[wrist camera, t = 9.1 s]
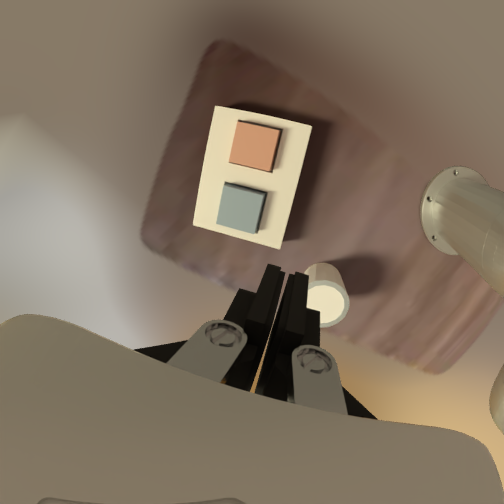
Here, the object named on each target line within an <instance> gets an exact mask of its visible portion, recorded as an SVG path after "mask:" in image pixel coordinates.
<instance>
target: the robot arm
mask: <svg viewBox="0 0 504 504" xmlns="http://www.w3.org/2000/svg"><path fill="white" fill-rule="evenodd" d="M453 171H455V173H454V174H453ZM428 196H429V199H428V200H427V197H428ZM420 219H421V225H422V228H423V231H424V233H425V235H426V237H427V239H428V240H429V241H430V242H431V244H432V245H433V246H435V247H436V248H437V249H438V250H440V251H441V252H443V253H446V254H449V255H460V256H461V257H462V258H463V259H464V260H465V261H466V262H467V263H468V264H469V265H470V266H471V267H472V268H473V269H474V270H475V271H476V272H477V273H478V274H479V275H480V276H481V277H482V278H483V279H484V280H485V281H486V282H487V283H488V284H489V285H490V286H491V287H492V288H493V289H494V290H495V291H496V292H497V293H498V294H499V295H500V296H502V297H503V298H504V192H502V191H500V190H497V189H494V188H492V187H489V185H488V183H487V182H486V180H485V179H484V178H483V177H482V176H481V175H480V174H479V173H478V172H476V171H475V170H473V169H470V168H468V167H463V166H452V167H448V168H446V169H444V170H442V171H440V172H439V173H438V174H436V175H435V176H434V177H433V178H432V180H431V181H430V182H429V183H428V185H427V187H426V189H425V191H424V194H423V196H422V200H421V205H420ZM433 235H434V236H433ZM432 236H433V237H432ZM280 270H281V267H278V266H275V265H271V264H268V265H267V267H266V270H265V273H264V275H263V278H262V280H261V283H260V285H259V288H258V290H257V293H254V292H250V291H247V290H244V289H239V290H238V292H237V294H236V296H235V298H234V300H233V302H232V304H231V306H230V308H229V310H228V311H227V314H226V315H225V317H224V319H223V320H212V321H208V322H206V323H205V324H203V325H202V326H201V327H200V328H199V329H198V330H197V332H196V333H195V334H194V335H193V336H192V337H191V338H190V339H189V340H186V341H181V342H175V343H170V344H164V345H159V346H153V347H147V348H140V349H135V350H132V349H129V348H127V347H125V346H123V345H120V344H118V343H116V342H114V341H111V340H109V339H107V338H104V337H102V336H100V335H98V334H96V333H93V332H91V331H89V330H87V329H85V328H83V327H80V326H77V325H75V324H72V323H70V322H67V321H63V320H60V319H57V318H53V317H48V316H43V315H34V314H24V315H19V316H16V317H13V318H11V319H9V320H7V321H5V322H3V323H2V324H0V504H504V492H503V487H502V483H501V480H500V477H499V474H498V471H497V468H496V465H495V462H494V460H493V458H492V456H491V454H490V452H489V450H488V449H487V447H486V446H485V445H484V444H482V443H481V442H480V441H479V440H477V439H475V438H473V437H471V436H469V435H466V434H464V433H461V432H458V431H454V430H450V429H445V428H440V427H432V426H423V425H415V424H407V423H398V422H390V421H382V420H378V419H377V418H376V417H375V416H374V415H372V414H371V413H370V412H369V411H368V410H367V409H366V408H365V407H364V406H363V405H362V404H361V403H359V402H358V401H357V400H356V399H355V398H354V397H353V396H352V395H351V394H350V393H349V392H348V391H347V390H346V389H345V388H343V387H342V385H341V381H340V376H339V372H338V367H337V363H336V361H335V359H334V357H333V356H332V355H331V354H330V353H328V352H327V351H326V350H324V349H322V348H320V311H317V310H313V309H310V308H307V297H308V284H309V275H306V274H303V273H299V272H295V275H293V274H289V277H288V280H287V283H286V286H285V290H284V293H283V296H282V299H281V302H280V305H279V309H278V312H277V315H276V318H275V321H274V324H273V320H274V316H275V313H276V309H277V305H278V301H279V297H280V293H281V289H282V285H283V280H284V276H285V272H282V271H280ZM272 324H273V327H272ZM271 327H272V331H271ZM270 331H271V334H270ZM269 334H270V338H269V341H268V346H267V349H266V353H265V356H264V360H263V364H262V368H261V371H260V375H259V378H258V382H257V386H256V389H255V394H254V393H251V392H250V390H251V387H252V384H253V381H254V378H255V376H256V372H257V369H258V367H259V364H260V361H261V358H262V355H263V352H264V349H265V346H266V343H267V340H268V337H269ZM247 391H248V392H247ZM489 405H490V413H491V415H492V418H493V421H494V422H495V424H496V426H497V427H498V429H499V430H500V431H501V432H502V433H503V434H504V365H503V366H502V368H501V370H500V372H499V374H498V376H497V378H496V380H495V382H494V384H493V386H492V389H491V393H490V399H489Z"/></svg>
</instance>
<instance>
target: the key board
mask: <svg viewBox="0 0 504 504" xmlns="http://www.w3.org/2000/svg"><path fill="white" fill-rule="evenodd" d="M237 122H242V123H247V124H252V125H257V126H262V127H266V128H271V129H275V130H279V131H281V134H280V138H279V143H278V147H277V151H276V155H275V159H274V163H273V168H272V170H271V171H266V170H262V169H258V168H253V167H249V166H245V165H241V164H236V163H232V162H229V158H230V153H231V148H232V144H233V139H234V134H235V130H236V125H237ZM311 130H312V126H309V125H305V124H301V123H298V122H294V121H289V120H285V119H281V118H277V117H272V116H267V115H263V114H258V113H253V112H248V111H243V110H237V109H232V108H226V107H220V106H215V110H214V115H213V119H212V124H211V129H210V133H209V138H208V143H207V148H206V153H205V158H204V164H203V169H202V174H201V180H200V185H199V191H198V197H197V203H196V209H195V215H194V221H193V225H195V226H198V227H202V228H206V229H209V230H213V231H216V232H220V233H224V234H227V235H231V236H234V237H238V238H241V239H245V240H248V241H252V242H256V243H259V244H263V245H266V246H270V247H273V248H277V249H280V247H281V244H282V241H283V237H284V233H285V230H286V226H287V222H288V219H289V215H290V211H291V208H292V204H293V200H294V196H295V192H296V189H297V185H298V181H299V177H300V173H301V169H302V166H303V162H304V158H305V154H306V150H307V146H308V142H309V138H310V134H311ZM228 183H231V184H235V185H239V186H243V187H247V188H251V189H255V190H259V191H263V192H266V196H265V200H264V205H263V209H262V213H261V217H260V221H259V225H258V229H257V231H256V232H255V234H251V233H247V232H244V231H240V230H237V229H233V228H229V227H226V226H222V225H218V224H216V221H217V216H218V211H219V206H220V201H221V195H222V190H223V186H224V185H226V184H228Z"/></svg>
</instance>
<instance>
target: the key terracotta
mask: <svg viewBox="0 0 504 504" xmlns="http://www.w3.org/2000/svg"><path fill="white" fill-rule="evenodd" d="M280 134H281V131H279V130H275V129H271V128H266V127H262V126H257V125H252V124H247V123H242V122H237V125H236V130H235V134H234V139H233V144H232V148H231V153H230V158H229V162H232V163H236V164H241V165H245V166H249V167H253V168H258V169H262V170H266V171H271V170H272V168H273V163H274V159H275V155H276V151H277V147H278V143H279V138H280Z"/></svg>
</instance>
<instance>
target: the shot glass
mask: <svg viewBox="0 0 504 504" xmlns="http://www.w3.org/2000/svg"><path fill="white" fill-rule="evenodd" d="M304 274H306V275H309V284H308V297H307V308H310V309H313V310H317V311H320V327H330V326H332V325H334V324H337V323H339V322H340V321H341V320H342V319H343V318H344V317H345V316H346V313H347V311H348V309H349V297H348V294H347V291H346V289H345V286H344V283H343V280H342V278H341V275H340V273H339V271H338V269H336V268H335V267H334V266H333V265H331V264H328V263H316V264H314V265H312V266H310V267H309V268H308V269H307V270H306V271H305V273H304Z"/></svg>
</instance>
